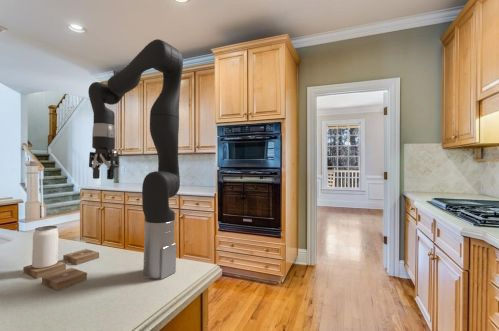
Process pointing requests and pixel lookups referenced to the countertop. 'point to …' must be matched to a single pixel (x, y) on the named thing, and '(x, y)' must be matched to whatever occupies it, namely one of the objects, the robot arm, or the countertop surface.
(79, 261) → the tile
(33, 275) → the tile
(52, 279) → the tile
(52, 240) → the can
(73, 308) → the countertop surface
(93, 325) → the countertop surface
